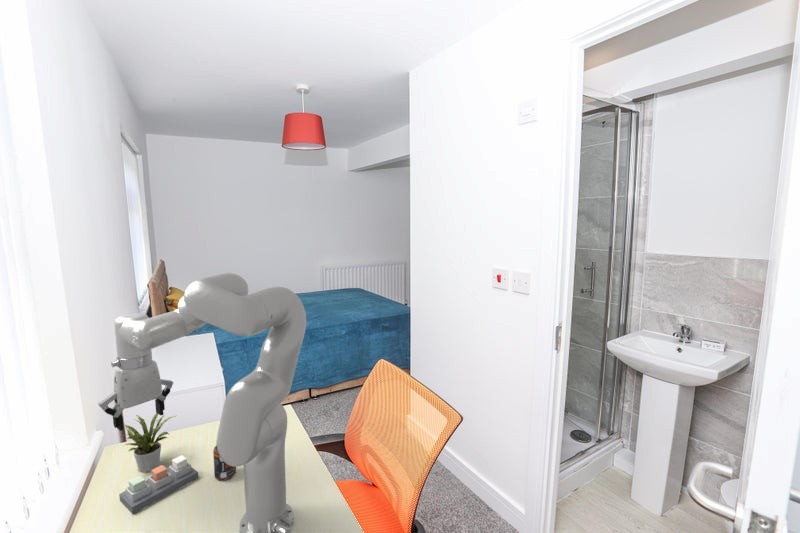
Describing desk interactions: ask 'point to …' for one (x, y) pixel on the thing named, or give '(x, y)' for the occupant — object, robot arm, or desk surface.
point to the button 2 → (159, 473)
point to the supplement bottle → (222, 467)
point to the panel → (158, 488)
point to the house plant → (147, 444)
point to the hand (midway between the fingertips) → (140, 420)
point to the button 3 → (179, 462)
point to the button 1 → (137, 484)
